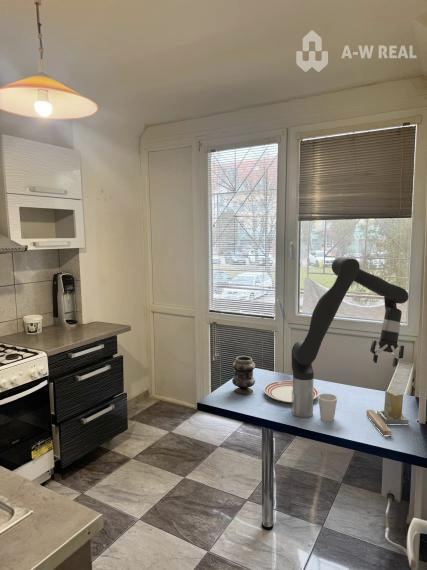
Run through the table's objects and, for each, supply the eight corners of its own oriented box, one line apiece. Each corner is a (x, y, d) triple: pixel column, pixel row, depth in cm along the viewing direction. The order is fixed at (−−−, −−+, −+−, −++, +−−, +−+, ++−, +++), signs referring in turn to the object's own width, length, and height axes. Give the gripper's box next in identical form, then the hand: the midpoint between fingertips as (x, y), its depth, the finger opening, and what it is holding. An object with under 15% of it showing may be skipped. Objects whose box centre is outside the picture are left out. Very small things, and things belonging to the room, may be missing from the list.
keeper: (385, 425, 167) (385, 419, 167) (377, 415, 177) (377, 410, 177) (408, 425, 167) (408, 420, 167) (398, 415, 177) (399, 410, 176)
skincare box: (383, 416, 174) (384, 390, 173) (391, 415, 176) (392, 388, 174) (394, 422, 168) (395, 395, 167) (402, 421, 170) (403, 394, 168)
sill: (383, 436, 157) (383, 430, 157) (366, 415, 177) (366, 409, 177) (391, 436, 157) (391, 431, 157) (373, 415, 177) (373, 409, 177)
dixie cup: (320, 422, 170) (321, 400, 169) (315, 414, 178) (315, 393, 177) (339, 422, 170) (340, 400, 169) (333, 414, 178) (334, 393, 177)
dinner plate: (324, 407, 187) (325, 400, 186) (267, 407, 187) (267, 400, 187) (311, 386, 214) (311, 380, 213) (261, 386, 214) (261, 380, 214)
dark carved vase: (259, 393, 204) (259, 359, 202) (239, 397, 198) (239, 362, 196) (247, 385, 215) (247, 353, 213) (228, 389, 209) (228, 356, 207)
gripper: (377, 328, 180) (371, 363, 179) (409, 333, 178) (403, 369, 178) (372, 327, 187) (366, 360, 187) (402, 332, 186) (397, 366, 185)
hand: (384, 364), depth 182 cm, fingers open, 8 cm apart
